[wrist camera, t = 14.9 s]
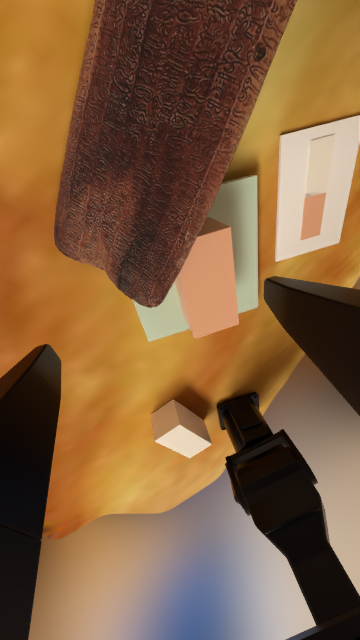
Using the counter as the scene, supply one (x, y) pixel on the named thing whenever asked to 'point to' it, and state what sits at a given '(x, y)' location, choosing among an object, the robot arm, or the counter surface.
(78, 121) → the wooden tablet
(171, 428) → the cream brick
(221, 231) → the terracotta brick
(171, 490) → the counter surface
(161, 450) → the counter surface
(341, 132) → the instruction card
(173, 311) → the baseplate
